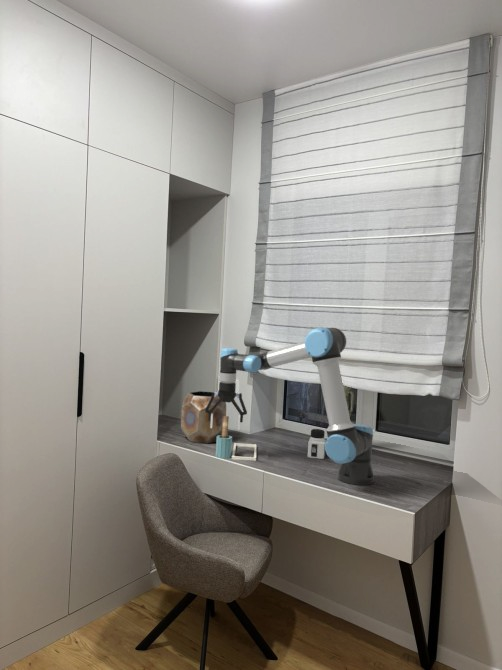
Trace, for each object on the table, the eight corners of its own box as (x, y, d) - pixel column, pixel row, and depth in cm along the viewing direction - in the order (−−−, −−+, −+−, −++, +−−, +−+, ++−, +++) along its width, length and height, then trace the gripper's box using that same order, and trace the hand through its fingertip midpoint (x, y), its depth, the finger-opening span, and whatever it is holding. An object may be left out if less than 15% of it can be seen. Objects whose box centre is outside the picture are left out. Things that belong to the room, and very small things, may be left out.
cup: (230, 461, 233) (231, 439, 233) (214, 460, 233) (216, 438, 233) (231, 456, 240) (232, 435, 240) (216, 455, 240) (217, 434, 240)
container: (323, 459, 244) (325, 432, 244) (307, 457, 246) (309, 430, 245) (324, 455, 252) (326, 428, 251) (308, 453, 254) (310, 427, 253)
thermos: (333, 444, 273) (337, 378, 271) (354, 449, 266) (358, 381, 264) (325, 447, 266) (329, 380, 264) (346, 452, 259) (351, 383, 257)
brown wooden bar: (225, 457, 234) (228, 417, 234) (220, 457, 234) (222, 417, 234) (226, 454, 240) (228, 415, 240) (221, 454, 240) (223, 415, 240)
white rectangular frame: (255, 462, 232) (256, 458, 232) (231, 461, 233) (231, 456, 232) (256, 448, 256) (256, 444, 256) (234, 447, 257) (234, 443, 256)
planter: (174, 434, 275) (176, 390, 274) (217, 433, 285) (220, 390, 284) (186, 445, 255) (188, 398, 254) (232, 443, 264) (234, 397, 263)
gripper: (254, 382, 241) (251, 428, 242) (202, 379, 241) (199, 425, 242) (253, 384, 233) (251, 431, 234) (200, 381, 234) (197, 428, 235)
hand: (225, 428), depth 238 cm, fingers open, 12 cm apart
